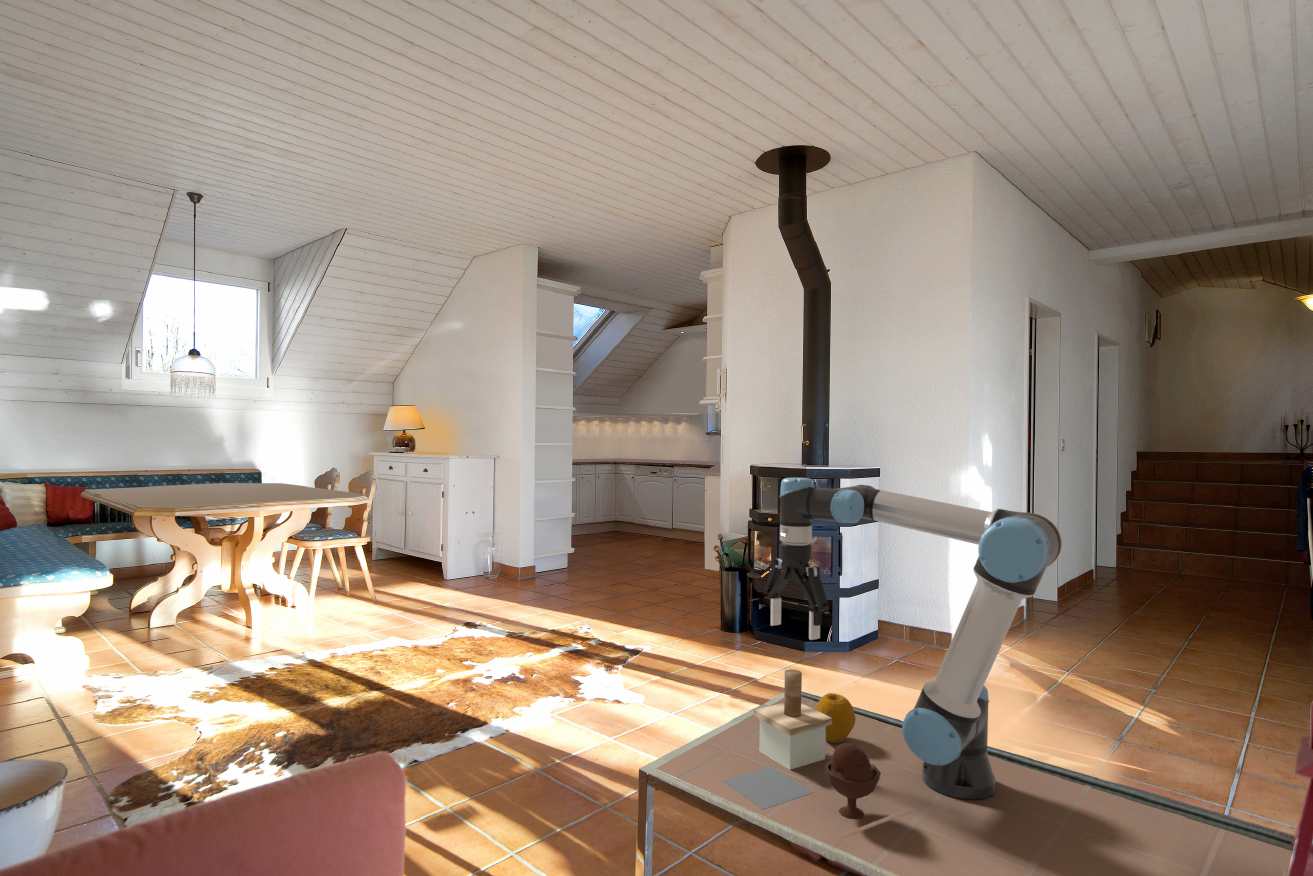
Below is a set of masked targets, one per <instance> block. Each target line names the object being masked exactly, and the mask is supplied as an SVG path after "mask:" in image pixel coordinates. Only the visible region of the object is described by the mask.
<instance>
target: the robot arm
mask: <svg viewBox="0 0 1313 876" xmlns="http://www.w3.org/2000/svg"><path fill="white" fill-rule="evenodd" d="M779 499H780V500H779V502H780V503H779V506H780V507H779V511H780V512H779V513H780V515H779V517H780V518H779V519H780V520H779V541H781V543H780V544H779V556H778V557H779V558H773V559H772V564H771V565H772V567H771V570H770V571H769V572H770V573H769V575H768V578H767V580H766V583H765V586H764V588H763V594H764V595H767V596H768V598H769V611H770V626H771V627H773V626H779V625H782V597H781V594H782V592H783V591H784V589H785V587H786V586H787V585H788V583H789V582H793V583H795V584H797V585H798V586H799V587H800V588H801V590H802V592H803V594H804V596H805V599H806V600H807V602H808V605H809V606H810V610H809V612H808V614H809V615H808V617H809V618H808V639H809V640H810V641H813V640H818V639H821V625H822V623H823V622H822V621H823V620H822V619H823V611H826V610H827V611H828V610H830V605H829V602H828V599H827V596H826V592H825V588H824V586H823V583H822V579H821V577H820V576H821V575H820V574H821V573H820V568H819V566H813V567H810V560H812V558H813V557H812V553H813V552H812V549H813V545H812V544H811V543H812V541H813V520H814V521H824V522H833V523H840V524H856V523H858V522H859V521H860V520H861V519H864V520H869V521H874V522H880V523H883V524H888V525H892V526H896V527H901V528H905V529H909V530H914V531H918V532H921V533H922V532H923V533H928V534H931V535H935V536H939V537H944V538H949V539H954V540H957V541H961V542H966V543H970V544H975V545H978V548H977V550H978V557H977V559H976V562H975V564H974V566H973V573H974V575H975V577H976V580H977V581H976V583H975V585H974V588H973V590H972V592H971V595H970V597H969V599H968V602H967V603H966V606H965V609H964V611H963V614H962V616H961V618H960V620H959V623H958V625H957V627H956V630H955V632H954V634H953V637H952V640H951V641H950V644H949V646H948V649H947V651H946V653H945V656H944V658H943V661H942V663H941V665H940V667H939V670H938V672H937V674H936V676H935V677H933V679H932V680H929V681H926V682H925V683H924V685H923V686H922V688H921V689H922V690H921V691H920V694H919V696H918V699H917V701H916V702H915V705H914V707H913V708H912V709H911V710H909V711H908V713H906V715H905V716H904V719H903V722H902V727H901V731H902V736H903V739H904V741H905V743H906V745H907V747H908V749H909V750H910V751H911V752H912V754H914V756H916V757H917V759H919V760H921V761H922V762H923V763H922V768H921V769H922V770H921V771H922V772H921V778H922V780H923V782H924V783H925V784H926V786H928V787H929V788H931V789H932V790H935V791H936V792H938V793H940V794H943V795H945V794H946V796H948V795H950V796H949V797H953V798H957V799H962V800H963V799H964V800H983V799H987V798H990V797H991V796H990V795H991V794H993V793H994V794H995V792H996V777H995V774H994V773H993V769H992V764H991V762H990V758H989V754H988V739H989V738H988V737H989V735H988V732H989V703H990V698H989V690H988V688H987V687H986V686H985V684H986V682H987V678H989V677H988V676H989V675H990V672H991V670H992V668H993V665H994V663H995V661H996V659H997V657H998V655H999V652H1000V650H1001V648H1002V645H1003V643H1004V641H1005V640H1006V637H1007V634H1008V632H1009V629H1010V628H1011V626H1012V623H1013V621H1014V619H1015V617H1016V614H1017V612H1018V610H1019V607H1020V605H1021V603H1022V601H1023V600H1024V599H1028V598H1031V597H1033V596H1035V593H1036V591H1037V589H1038V587H1039V585H1040V583H1041V580H1042V579H1043V575H1044V574H1045V571H1046V569H1047V568H1048V567H1050V566H1051V565H1053V563H1055V561H1056V560H1057V559H1058V557H1060V556H1059V555H1060V554H1061V551H1062V548H1063V547H1062V545H1063V544H1062V543H1063V540H1062V537H1061V533H1060V530H1059V529H1058V527H1057V526H1056V525H1055V524H1054V523H1053V521H1051V520H1050V519H1049V518H1047V517H1045V516H1043V515H1041V514H1038V513H1033V512H1023V511H1014V510H1008V509H1004V508H1003V509H1002V508H997V509H994V510H993V511H988V510H985V509H979V508H973V507H969V506H968V507H967V506H962V505H958V504H953V503H949V502H943V501H937V500H934V499H929V498H928V499H927V498H924V497H918V496H913V495H908V494H907V495H906V494H903V493H897V492H894V491H892V492H891V491H888V490H883V489H882V490H881V489H878V488H876V487H874V486H871V485H867V484H857V485H852V486H848V487H846V486H845V487H837V488H823V487H820V488H819V487H815V486H814V483H813V480H812V479H811V478H809V477H807V478H806V477H785V478H783V479H782V480H781V483H780V495H779ZM994 791H995V792H994ZM994 794H993V795H994ZM989 796H990V797H989ZM986 797H987V798H986Z"/></svg>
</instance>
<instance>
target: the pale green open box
mask: <svg viewBox="0 0 1313 876" xmlns="http://www.w3.org/2000/svg"><path fill="white" fill-rule="evenodd" d="M758 739H759V745H758V746H759V747H758V748H759V749H758V750H759V751H758V752H760V753H761V754H763V755H765V756H766V757H767V758H770V759H771V760H773V761H775V762H776V763H777V764H779V765H781V766H783V768H786V769H787V770H789V771H790V770H794V769H798V768H800V767H804V766H808V765H810V764H814V763H817V762H820V761H823V760H826V741H827V740H826V726H824V727H821V728H817V729H813V730H810V731H806V732H803V733H799V734H795V735H792V736H789V735H787V734H786V733H784V732H782V731H780V730H778V729H777V728H775V727H773V726H771V725H769V724H768V723H766V722H764V721H762V720H760V719H759V738H758Z"/></svg>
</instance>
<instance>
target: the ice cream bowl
mask: <svg viewBox="0 0 1313 876" xmlns="http://www.w3.org/2000/svg"><path fill="white" fill-rule="evenodd" d="M868 756H869V755H867V753H865V751H863V750H862V749H861V748H860V747H858V746H857V745H856V744H855V743H852V742H849V743H848V742H844V743H842V744H841V743H840V744H839V745H837V746H836V747H835V748H834V751H833V753H832V755H831V759H829V760H828V761H827V762H826V764H825V765H824V767H823V768H824V772H825V773H824V774H825V776H826V778H827V781H828V782H829V784H830V785H831V786H832V788H833V789H834V790H835V791H836V793H838V794H840V795H841V796H843V797H846V799H847V803H846V804H847V805H846V806H845V805H844V806H843V807H840V808H839V810H838V813H839V814H840V815H841V816H842V817H844V818H845V819H848V820H855V821H857V820H860V819H861V820H862V819H864V817H865V815H866V814H865V813H864V811H863V809H860V808H858V807H857V799H861V798H864V797H867V796H869V795H870V794H872V793H873V792H874V790H875V789H876V787H877V785H878V783H879V781H880V779H881V778H880V777H881V773H882V772H881V771H880V769H878V768H877V767H876V765H875V764H873V763H871V762H870V760H869V757H868Z"/></svg>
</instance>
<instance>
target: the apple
mask: <svg viewBox="0 0 1313 876" xmlns="http://www.w3.org/2000/svg"><path fill="white" fill-rule="evenodd" d="M815 710H816V711H818V712H821V713H823V714H825V715H827V716H829V717H831V718H832V725H828V726H826V741H828V742H829V743H832V744H840V743H842V742H843V741H845V740H846V739H847V737H848V736H849V735H850V733H851V732H852V730H853V729H854V726H855V724H856V714H855V713H856V712H855V710H854V708H853V705H852V704H851V702H850V700H848V698H847V697H845V696H843V695H841V694H839V693H833V692H830V693H829V692H828V693H826V694H824V695H823V696H822V697H821V698H820V699H819V701H818V702H817V704H816V707H815Z"/></svg>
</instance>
